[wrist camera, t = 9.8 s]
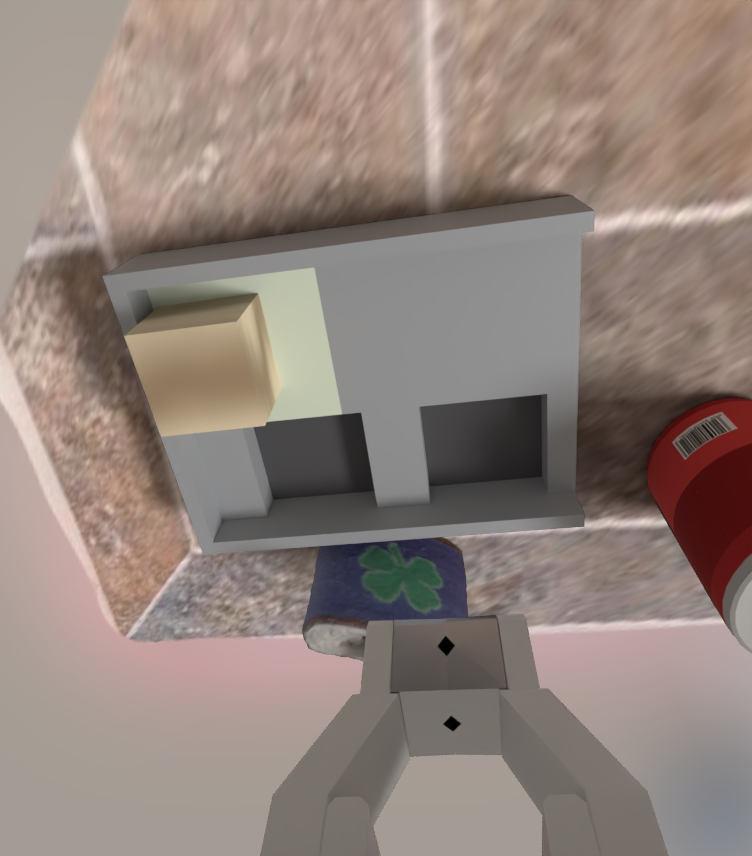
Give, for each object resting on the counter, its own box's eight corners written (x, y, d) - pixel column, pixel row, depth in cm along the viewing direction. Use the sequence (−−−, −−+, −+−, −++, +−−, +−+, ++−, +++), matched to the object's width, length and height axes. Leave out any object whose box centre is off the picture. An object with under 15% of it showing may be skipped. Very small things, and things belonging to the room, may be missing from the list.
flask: (319, 535, 38) (289, 679, 29) (332, 500, 37) (305, 639, 27) (454, 575, 39) (468, 727, 30) (472, 542, 38) (492, 691, 28)
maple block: (158, 306, 29) (123, 335, 26) (258, 293, 28) (236, 321, 25) (189, 398, 31) (161, 436, 28) (281, 387, 31) (264, 425, 27)
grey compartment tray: (138, 254, 30) (102, 276, 26) (571, 195, 27) (594, 210, 24) (222, 511, 38) (203, 554, 34) (567, 483, 35) (584, 526, 32)
